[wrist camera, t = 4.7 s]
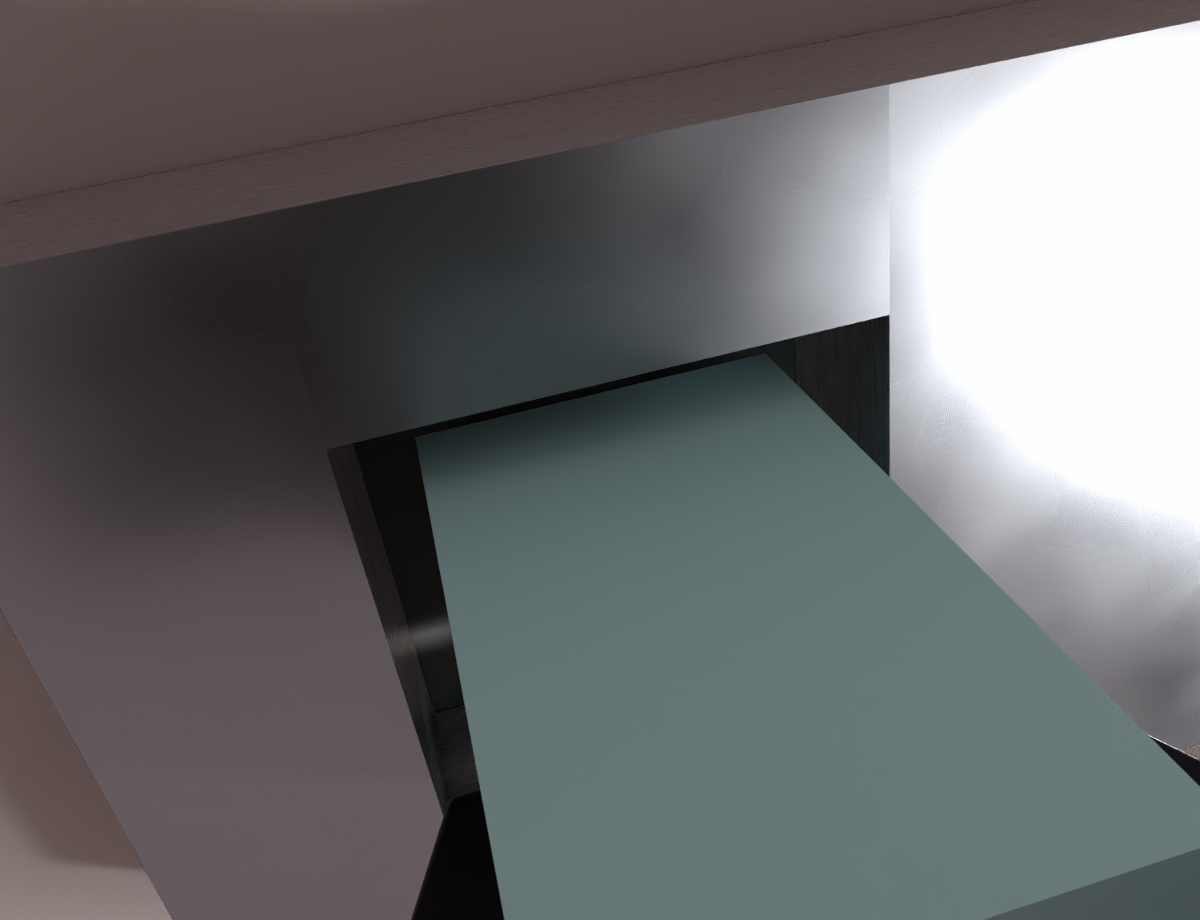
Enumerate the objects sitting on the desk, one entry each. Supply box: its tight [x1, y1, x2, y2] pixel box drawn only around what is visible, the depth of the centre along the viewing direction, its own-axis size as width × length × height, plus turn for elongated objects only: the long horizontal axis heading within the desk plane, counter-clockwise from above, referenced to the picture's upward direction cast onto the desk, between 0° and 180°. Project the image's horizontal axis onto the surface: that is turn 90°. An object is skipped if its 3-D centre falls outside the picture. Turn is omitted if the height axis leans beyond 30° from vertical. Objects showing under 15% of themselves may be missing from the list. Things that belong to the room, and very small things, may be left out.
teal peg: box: [415, 353, 1200, 920], centre depth 9 cm, size 4×4×7 cm
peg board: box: [0, 0, 1200, 920], centre depth 13 cm, size 24×10×3 cm, turn 99°
